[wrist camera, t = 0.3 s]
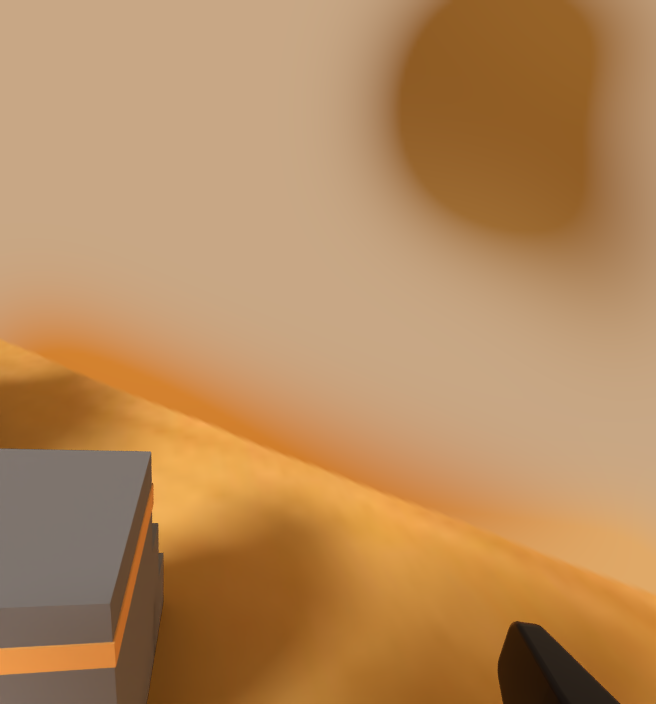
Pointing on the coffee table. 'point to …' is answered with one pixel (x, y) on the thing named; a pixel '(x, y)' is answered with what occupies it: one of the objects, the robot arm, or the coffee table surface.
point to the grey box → (77, 577)
